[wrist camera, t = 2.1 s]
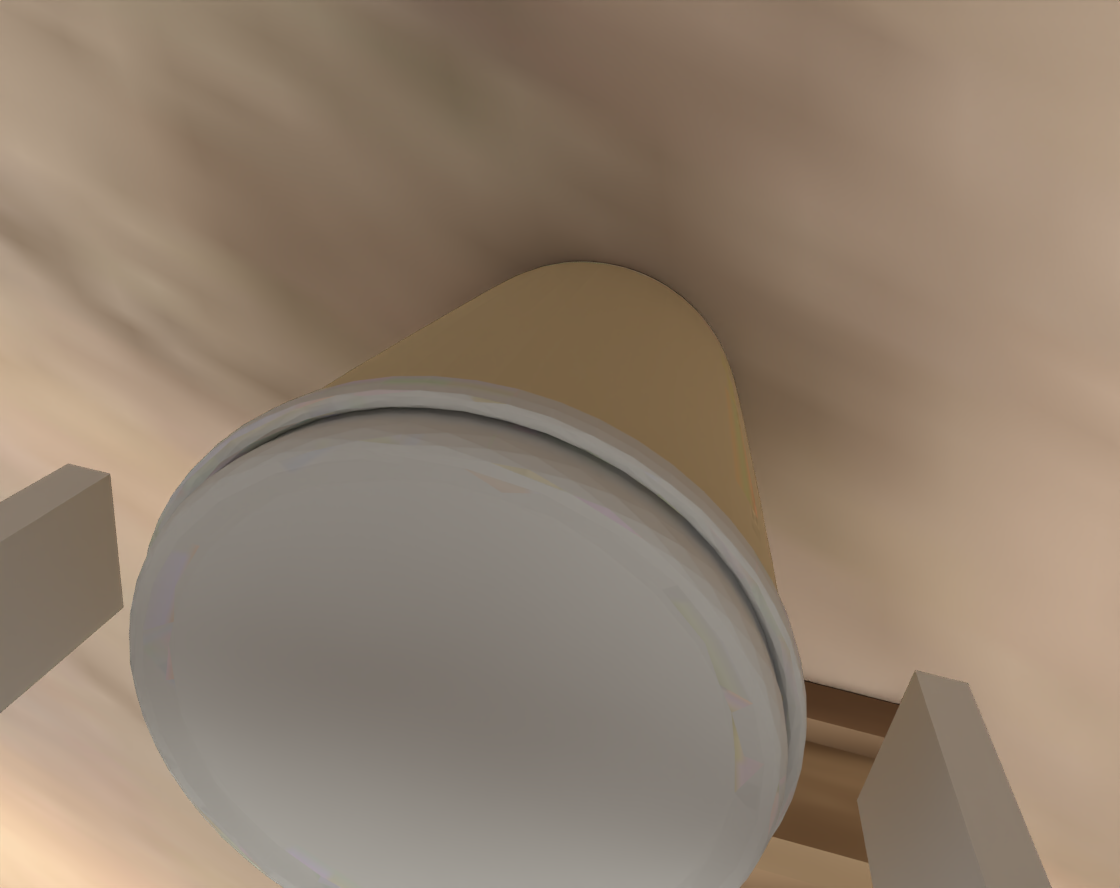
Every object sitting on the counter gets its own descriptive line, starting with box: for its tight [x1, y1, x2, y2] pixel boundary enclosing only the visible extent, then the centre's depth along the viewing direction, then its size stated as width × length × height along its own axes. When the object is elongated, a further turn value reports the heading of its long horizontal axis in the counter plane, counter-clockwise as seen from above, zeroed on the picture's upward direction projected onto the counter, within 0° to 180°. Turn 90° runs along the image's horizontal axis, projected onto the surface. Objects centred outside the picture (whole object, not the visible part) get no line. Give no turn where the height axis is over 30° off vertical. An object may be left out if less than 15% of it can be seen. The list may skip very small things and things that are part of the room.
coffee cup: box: [129, 261, 807, 888], centre depth 16 cm, size 9×9×12 cm
